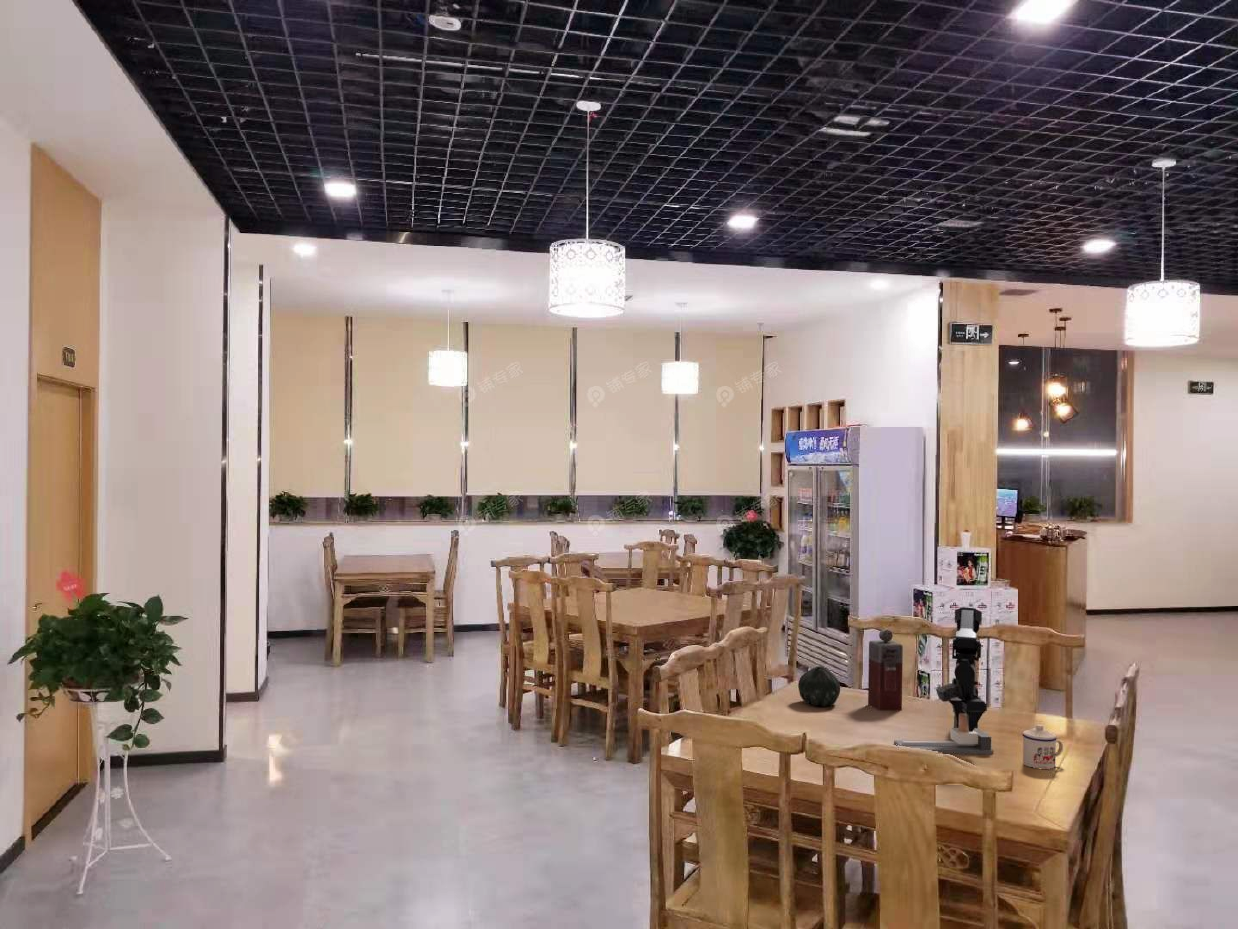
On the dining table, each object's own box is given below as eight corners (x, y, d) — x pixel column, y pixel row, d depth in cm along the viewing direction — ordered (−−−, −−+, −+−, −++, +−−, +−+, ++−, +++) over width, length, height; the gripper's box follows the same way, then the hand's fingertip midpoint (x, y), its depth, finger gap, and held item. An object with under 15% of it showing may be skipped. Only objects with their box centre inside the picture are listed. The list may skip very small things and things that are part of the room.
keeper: (969, 738, 294) (969, 712, 294) (978, 744, 288) (978, 717, 288) (950, 738, 294) (950, 711, 294) (958, 744, 287) (958, 717, 287)
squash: (820, 682, 357) (804, 655, 350) (853, 691, 345) (837, 663, 338) (800, 711, 350) (784, 684, 343) (833, 721, 338) (817, 693, 332)
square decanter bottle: (881, 712, 334) (883, 632, 334) (867, 704, 345) (868, 627, 345) (905, 711, 336) (906, 632, 336) (890, 704, 347) (891, 627, 347)
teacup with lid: (1034, 771, 270) (1035, 730, 270) (1015, 761, 279) (1016, 721, 279) (1072, 769, 272) (1072, 728, 272) (1052, 759, 281) (1052, 720, 281)
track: (979, 744, 296) (979, 728, 296) (993, 753, 286) (993, 737, 286) (894, 743, 295) (894, 727, 295) (904, 753, 285) (905, 736, 285)
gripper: (928, 670, 300) (927, 719, 300) (951, 683, 281) (950, 735, 281) (963, 670, 300) (962, 719, 300) (988, 683, 282) (987, 736, 281)
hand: (964, 727), depth 291 cm, fingers open, 9 cm apart
